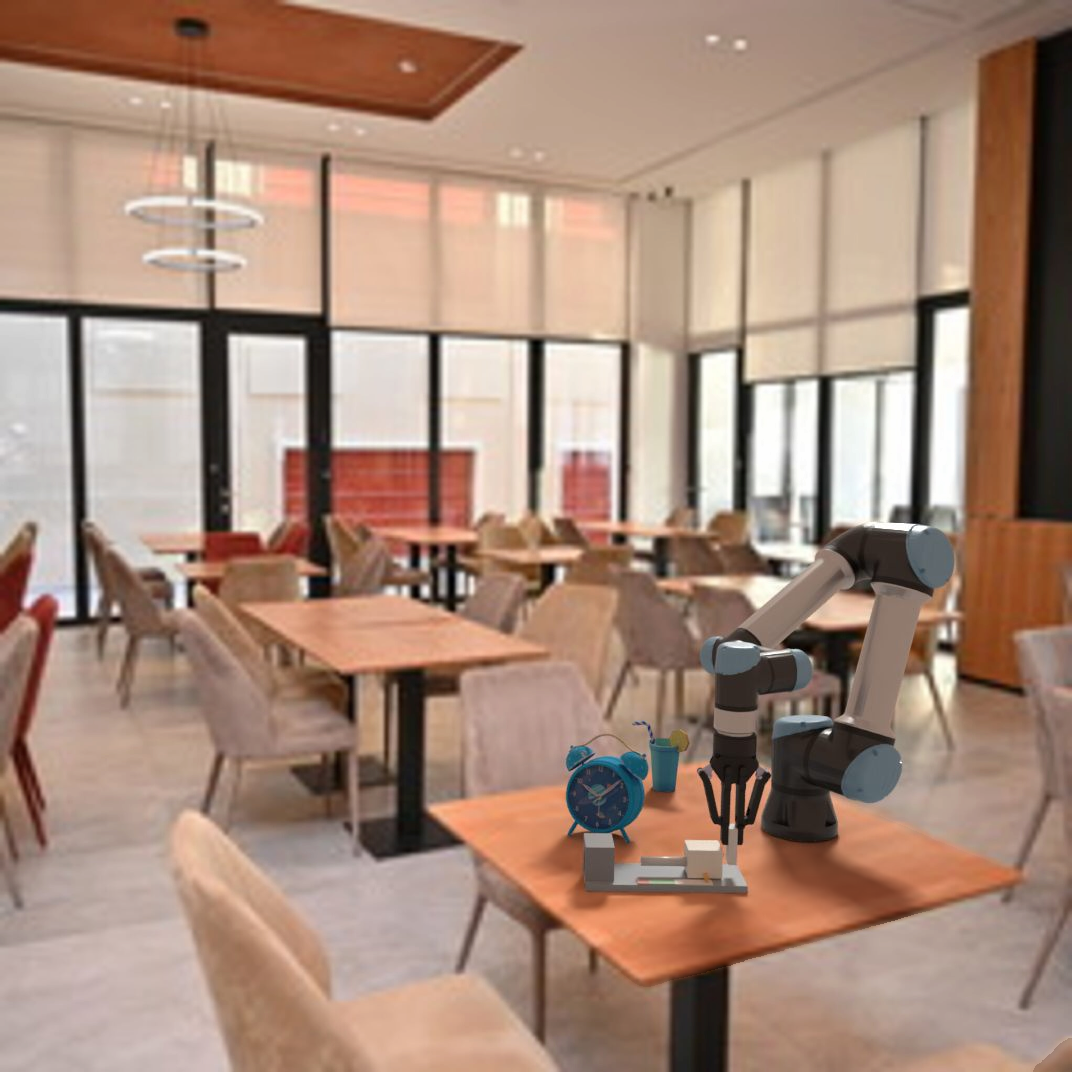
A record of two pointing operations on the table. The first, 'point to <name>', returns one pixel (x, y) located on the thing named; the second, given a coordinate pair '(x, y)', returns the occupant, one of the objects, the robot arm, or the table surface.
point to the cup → (665, 757)
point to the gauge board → (647, 873)
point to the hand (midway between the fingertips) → (730, 862)
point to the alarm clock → (605, 788)
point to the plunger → (694, 859)
